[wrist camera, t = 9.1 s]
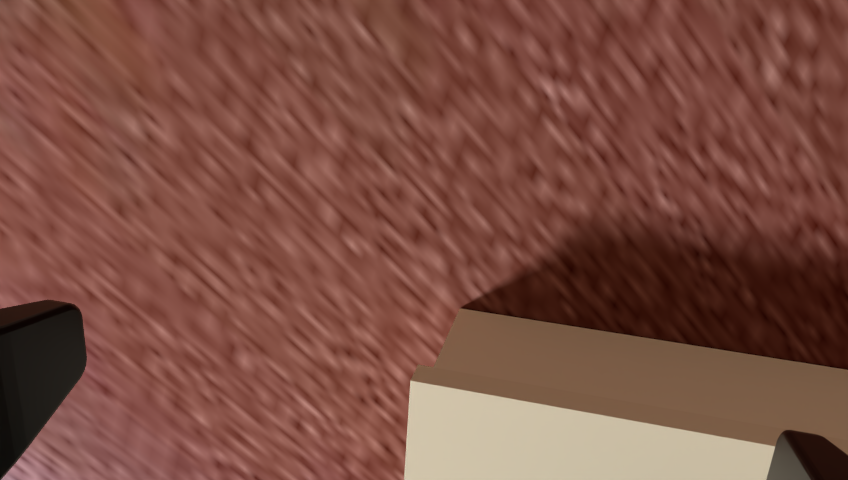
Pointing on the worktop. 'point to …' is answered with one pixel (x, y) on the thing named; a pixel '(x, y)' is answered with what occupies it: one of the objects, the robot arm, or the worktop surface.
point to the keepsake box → (607, 406)
